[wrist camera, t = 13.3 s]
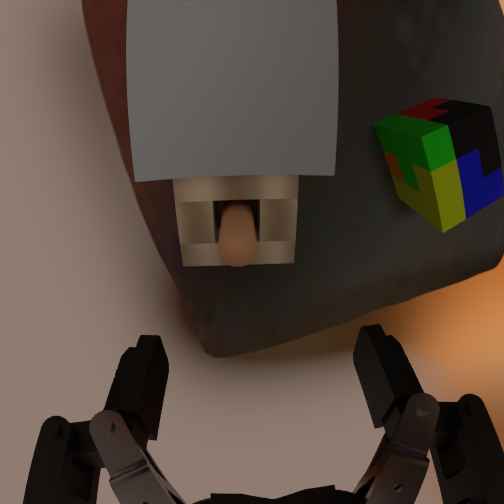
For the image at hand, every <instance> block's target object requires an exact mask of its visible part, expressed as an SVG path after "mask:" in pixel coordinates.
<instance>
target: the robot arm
mask: <svg viewBox="0 0 504 504" xmlns="http://www.w3.org/2000/svg"><path fill="white" fill-rule="evenodd" d="M353 361H354V365H355V368H356V371H357V374H358V377H359V380H360V383H361V386H362V389H363V392H364V396H365V399H366V401H367V405H368V408H369V411H370V414H371V418H372V421H373V424H374V427H375V429H376V428H380V427H384V429H385V434H384V436H383V438H382V440H381V443H380V445H379V447H378V449H377V451H376V453H375V455H374V457H373V459H372V461H371V463H370V465H369V467H368V469H367V471H366V472H365V474H364V475H363V477H362V478H361V480H360V481H359V483H358V484H357V486H356V488H355V489H354V491H353V493H351V492H348V491H343V490H335V486H334V485H330V486H324V487H317V488H311V489H304V490H301V491H299V492H296V493H293V494H290V495H287V496H283V497H280V498H277V499H268V498H262V497H256V496H250V495H245V494H217V493H211V498H208V499H204V500H201V501H198V502H195V503H193V504H414V502H415V500H416V498H417V495H418V493H419V491H420V488H421V485H422V483H423V480H424V478H425V475H426V472H427V470H428V467H429V462H430V460H429V459H428V458H427V453H428V450H429V449H430V452H431V455H432V459H433V463H434V466H435V470H436V474H437V478H438V482H439V486H440V491H441V495H442V500H443V504H504V452H503V449H502V447H501V444H500V441H499V439H498V436H497V433H496V431H495V428H494V426H493V423H492V421H491V418H490V416H489V414H488V411H487V409H486V407H485V405H484V403H483V401H482V400H481V398H480V397H478V396H476V395H474V394H466V395H463V396H462V397H461V398H460V399H459V400H458V402H438V401H437V400H436V399H435V398H434V397H433V396H431V395H430V394H427V393H424V391H423V390H422V387H421V385H420V383H419V381H418V379H417V377H416V375H415V372H414V370H413V368H412V366H411V364H410V363H409V360H408V358H407V356H406V355H405V352H404V350H403V348H402V346H401V344H400V343H399V342H398V341H397V340H396V339H395V338H394V337H393V336H392V335H387V336H386V335H385V333H384V331H383V329H382V327H381V325H380V324H376V325H369V326H362V327H361V328H360V331H359V335H358V338H357V342H356V345H355V349H354V352H353ZM168 374H169V362H168V358H167V355H166V352H165V350H164V347H163V344H162V340H161V338H160V336H159V335H141V336H140V337H139V339H138V342H137V345H136V347H129V348H128V349H127V351H125V353H124V354H123V355H122V356H121V359H120V362H119V365H118V369H117V370H116V373H115V377H114V380H113V383H112V385H111V389H110V392H109V395H108V398H107V401H106V404H105V407H104V409H103V411H101V412H99V413H97V414H96V415H95V416H94V417H93V418H92V419H91V420H90V421H84V422H75V423H69V422H68V421H67V420H66V419H65V418H63V417H61V416H52V417H50V418H48V419H47V420H45V422H44V423H43V425H42V427H41V430H40V434H39V437H38V441H37V444H36V448H35V451H34V455H33V459H32V463H31V467H30V472H29V476H28V480H27V485H26V490H25V495H24V500H23V504H96V500H97V492H98V484H99V477H100V470H101V468H106V469H107V470H108V472H109V475H110V477H111V479H110V480H109V482H110V485H111V488H112V489H113V491H114V493H115V495H116V497H117V498H118V500H119V502H120V504H186V503H185V501H184V500H183V499H182V498H181V496H180V495H179V494H178V493H177V492H176V490H175V489H174V488H173V487H172V485H171V484H170V483H169V482H168V480H167V479H166V477H165V476H164V475H163V473H162V472H161V470H160V469H159V467H158V466H157V464H156V462H155V461H154V459H153V458H152V456H151V455H150V453H149V452H148V450H147V442H148V440H157V434H158V429H159V423H160V417H161V411H162V406H163V400H164V395H165V389H166V384H167V379H168Z"/></svg>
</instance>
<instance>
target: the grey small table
mask: <svg viewBox="0 0 504 504" xmlns="http://www.w3.org/2000/svg"><path fill="white" fill-rule="evenodd" d="M126 67H127V97H128V114H129V127H130V139H131V149H132V159H133V167H134V176H135V182H140V181H151V180H164V179H177V178H193V177H211V176H237V175H331V176H334V173H335V159H336V142H337V120H338V20H337V1H336V0H128V9H127V37H126Z"/></svg>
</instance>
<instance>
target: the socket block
mask: <svg viewBox="0 0 504 504" xmlns="http://www.w3.org/2000/svg"><path fill="white" fill-rule="evenodd" d="M298 183H299V175H237V176H211V177H193V178H177V179H173V188H174V197H175V207H176V215H177V224H178V232H179V240H180V247H181V254H182V261H183V266H219V265H228V264H226V263H225V262H224V261H223V260H222V259H221V258H220V256H219V253H218V245H219V236H220V227H217V213H216V201H218V200H249V199H257V226H255V234H256V241H257V255H256V257H255V258H254V260H253V261H252V262H251V263H249V264H247V265H250V264H279V263H294V255H295V240H296V223H297V205H298Z"/></svg>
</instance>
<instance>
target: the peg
mask: <svg viewBox="0 0 504 504" xmlns="http://www.w3.org/2000/svg"><path fill="white" fill-rule="evenodd" d="M218 253H219V256H220V258H221V259H222V260H223V261H224V262H225V263H226V264H228V265H230V266H235V267H241V266H245V265H247V264H249V263H251V262H252V261H253V260H254V258H255V257H256V255H257V241H256V234H255V226H254V219H253V212H252V205H251V202H250V200H225V201H224V204H223V211H222V219H221V227H220V236H219V245H218Z"/></svg>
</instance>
